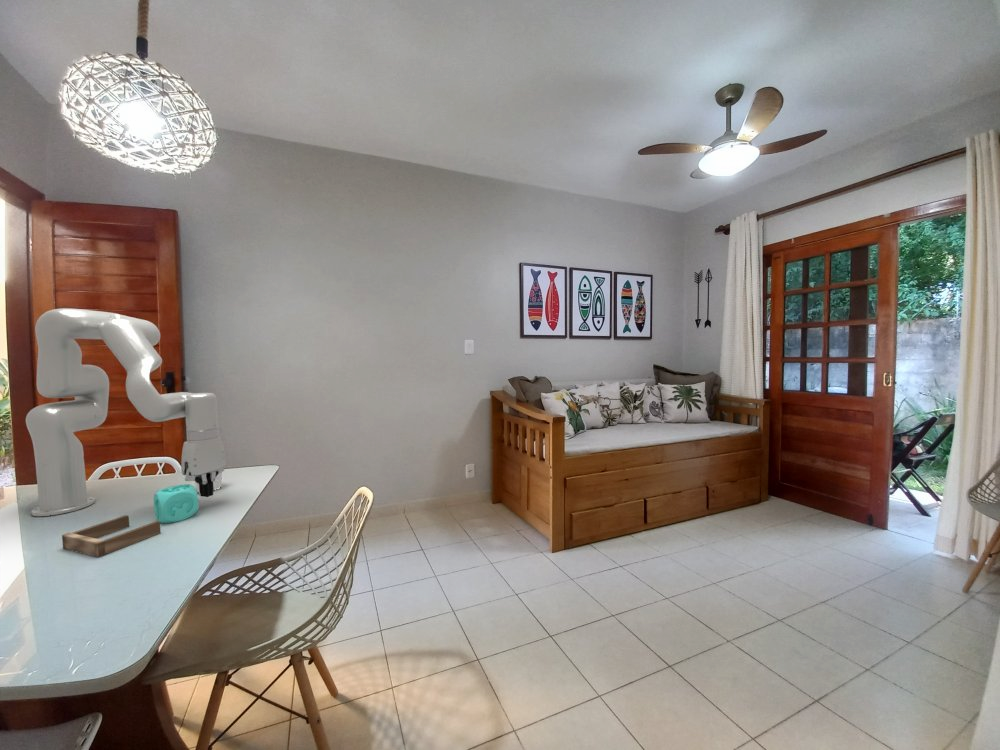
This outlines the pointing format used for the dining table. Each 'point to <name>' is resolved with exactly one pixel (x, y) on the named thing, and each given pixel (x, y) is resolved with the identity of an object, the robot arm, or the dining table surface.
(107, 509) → the dining table surface
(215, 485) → the white cup
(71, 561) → the dining table surface
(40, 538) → the dining table surface
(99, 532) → the corral
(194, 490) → the decorative dice
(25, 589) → the dining table surface
